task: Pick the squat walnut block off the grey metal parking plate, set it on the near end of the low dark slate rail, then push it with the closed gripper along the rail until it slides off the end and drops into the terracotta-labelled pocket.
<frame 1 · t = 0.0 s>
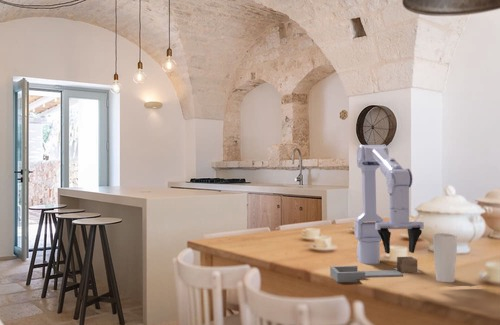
hand: (399, 252, 145), 10 cm above the table, fingers open, 7 cm apart
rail: (387, 277, 155), on the table
parking plate: (407, 273, 161), on the table
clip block: (407, 270, 161), point 1 cm above the table, touching parking plate
drinking glass: (445, 283, 148), on the table
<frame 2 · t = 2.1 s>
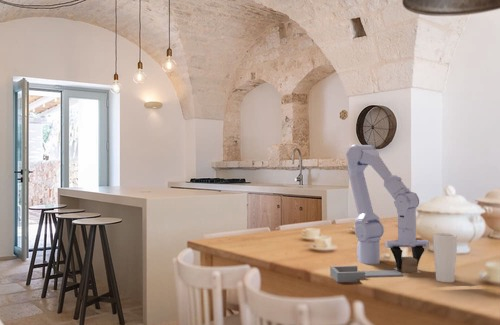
hand: (407, 268, 161), 2 cm above the table, fingers closed on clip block, 5 cm apart
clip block: (407, 270, 161), point 1 cm above the table, touching gripper, parking plate
everything else where it was.
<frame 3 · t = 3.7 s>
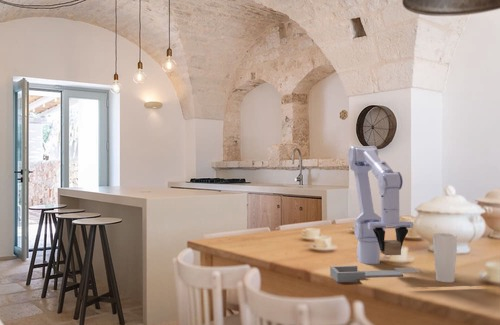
hand: (390, 250, 155), 9 cm above the table, fingers closed on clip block, 5 cm apart
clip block: (390, 253, 155), point 8 cm above the table, touching gripper
everything else where it was.
when the fingers open (3 cm above the table, at t = 5.1 s): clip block stays where it is, resting on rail.
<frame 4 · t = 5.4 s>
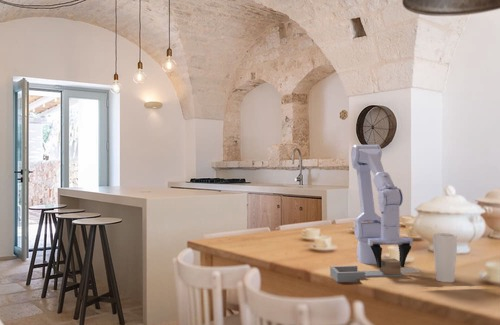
hand: (390, 266, 155), 3 cm above the table, fingers open, 7 cm apart
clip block: (390, 272, 155), point 1 cm above the table, touching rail
everything else where it was.
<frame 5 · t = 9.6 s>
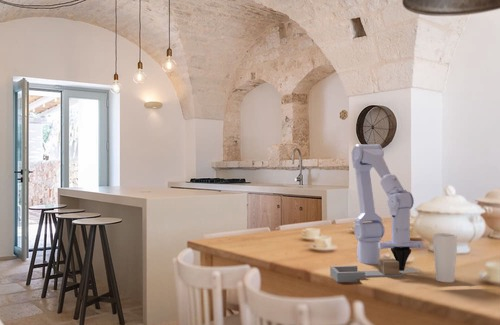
hand: (400, 270, 156), 2 cm above the table, fingers closed
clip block: (388, 272, 155), point 2 cm above the table, touching gripper
everything else where it was.
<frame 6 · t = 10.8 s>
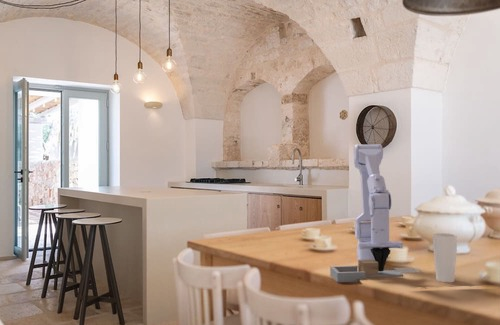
hand: (380, 270, 155), 2 cm above the table, fingers closed
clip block: (368, 273, 155), point 2 cm above the table, touching gripper, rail
everything else where it was.
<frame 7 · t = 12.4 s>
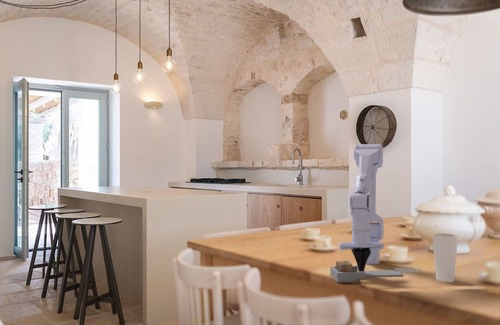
hand: (361, 271, 155), 2 cm above the table, fingers closed
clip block: (350, 270, 154), point 3 cm above the table, tilted 90°, touching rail
everything else where it was.
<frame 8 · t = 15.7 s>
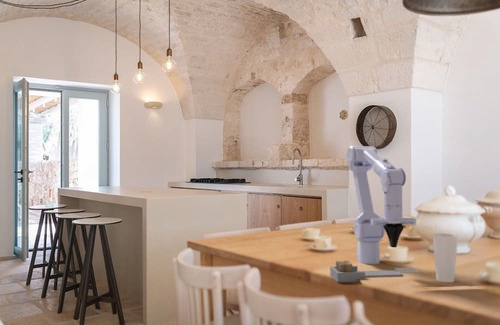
hand: (393, 246, 155), 10 cm above the table, fingers closed
nothing on the table moved.
at the end: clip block inside the target area on the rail (0.6 cm from its centre), point 2.7 cm above the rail's base; the gripper is holding nothing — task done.
